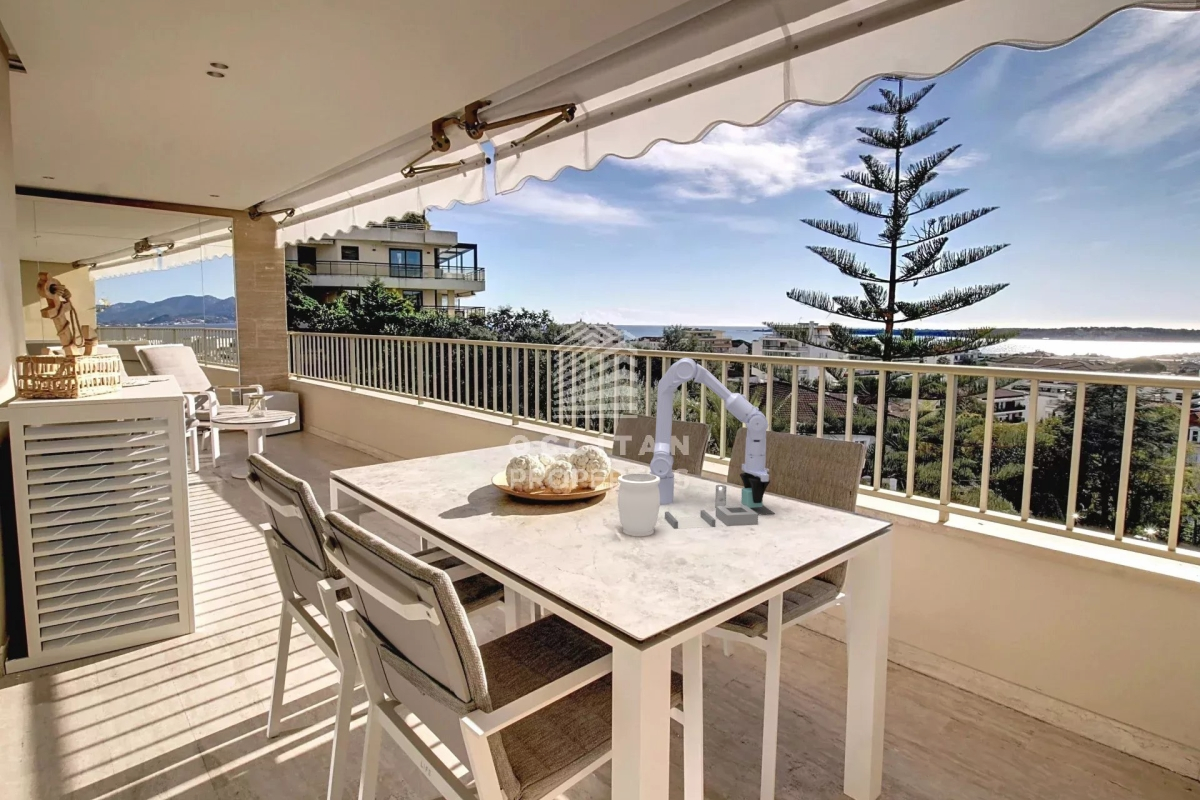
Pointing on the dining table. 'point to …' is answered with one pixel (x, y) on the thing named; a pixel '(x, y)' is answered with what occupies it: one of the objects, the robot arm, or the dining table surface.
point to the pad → (762, 510)
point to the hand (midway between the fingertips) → (753, 500)
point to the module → (749, 498)
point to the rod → (720, 495)
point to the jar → (638, 503)
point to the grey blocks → (724, 513)
